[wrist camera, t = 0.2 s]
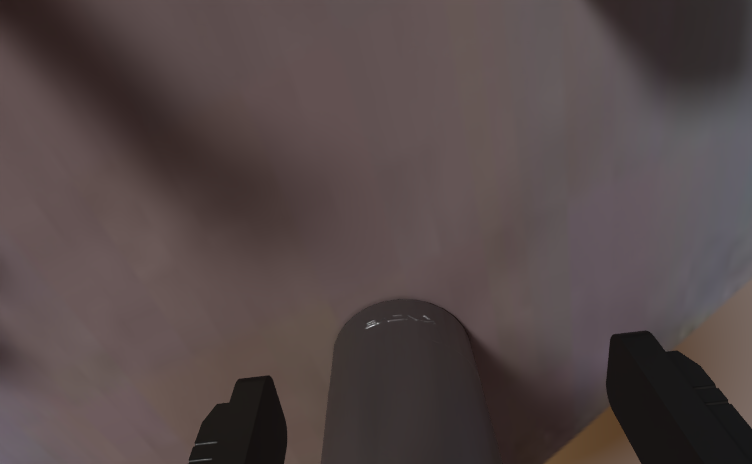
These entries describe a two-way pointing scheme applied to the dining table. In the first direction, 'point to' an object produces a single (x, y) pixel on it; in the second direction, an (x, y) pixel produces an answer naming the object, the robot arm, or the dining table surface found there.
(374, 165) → the dining table surface
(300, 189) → the dining table surface
